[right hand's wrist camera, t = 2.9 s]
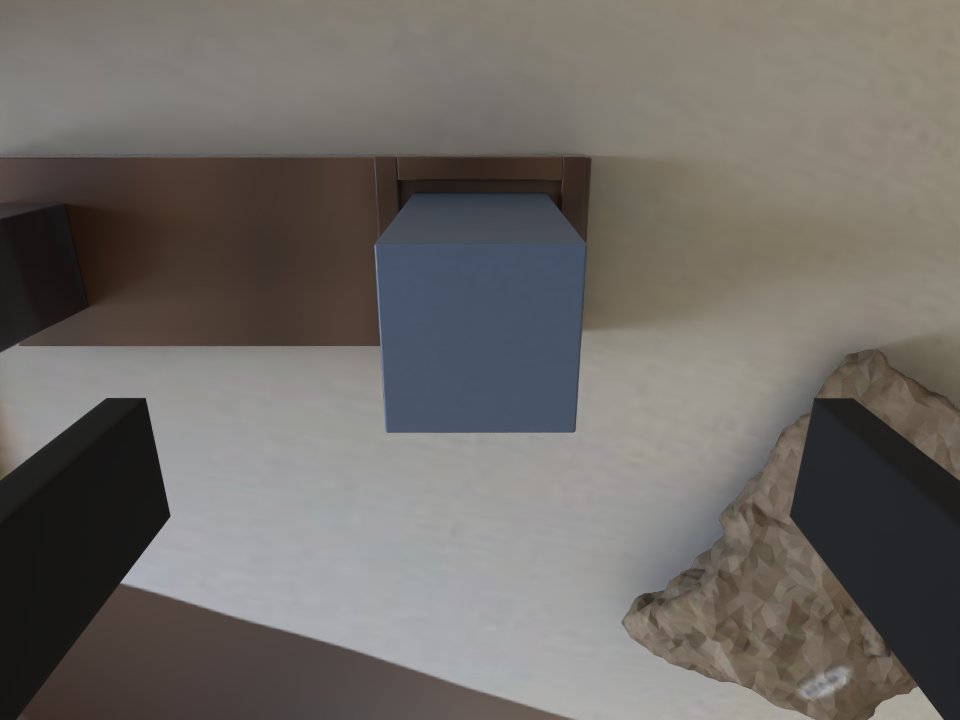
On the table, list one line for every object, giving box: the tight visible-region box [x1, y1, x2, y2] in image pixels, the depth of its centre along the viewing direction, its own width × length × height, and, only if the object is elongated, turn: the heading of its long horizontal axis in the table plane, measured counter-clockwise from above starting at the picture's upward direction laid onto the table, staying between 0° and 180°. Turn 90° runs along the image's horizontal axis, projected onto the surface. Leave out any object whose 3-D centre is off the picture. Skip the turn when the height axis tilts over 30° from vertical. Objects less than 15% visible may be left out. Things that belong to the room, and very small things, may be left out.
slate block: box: [375, 192, 587, 433], centre depth 25 cm, size 6×6×12 cm
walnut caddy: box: [0, 155, 591, 352], centre depth 27 cm, size 28×9×10 cm, turn 90°
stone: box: [622, 350, 960, 720], centre depth 36 cm, size 21×15×6 cm
